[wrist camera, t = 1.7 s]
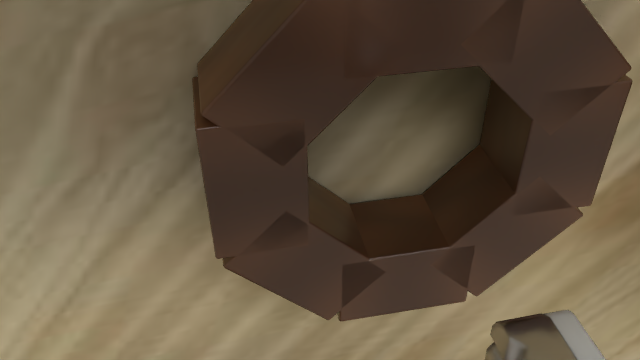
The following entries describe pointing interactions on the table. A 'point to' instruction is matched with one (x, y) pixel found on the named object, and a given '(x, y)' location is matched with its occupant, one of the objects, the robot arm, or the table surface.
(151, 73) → the table surface
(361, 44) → the ring
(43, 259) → the table surface
